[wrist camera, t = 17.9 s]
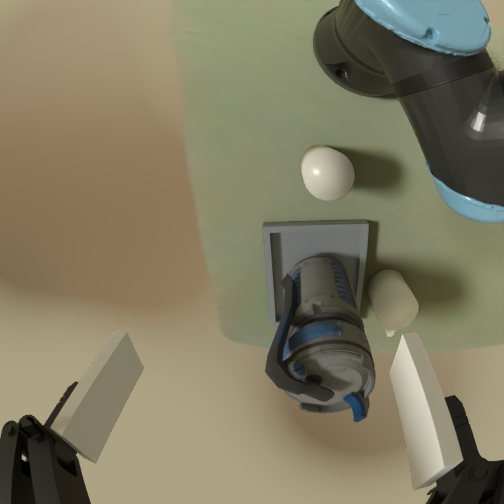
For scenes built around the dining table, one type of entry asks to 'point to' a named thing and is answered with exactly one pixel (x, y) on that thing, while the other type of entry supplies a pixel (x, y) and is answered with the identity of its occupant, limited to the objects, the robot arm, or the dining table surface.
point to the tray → (312, 253)
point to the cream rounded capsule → (326, 172)
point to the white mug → (392, 300)
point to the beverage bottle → (322, 341)
